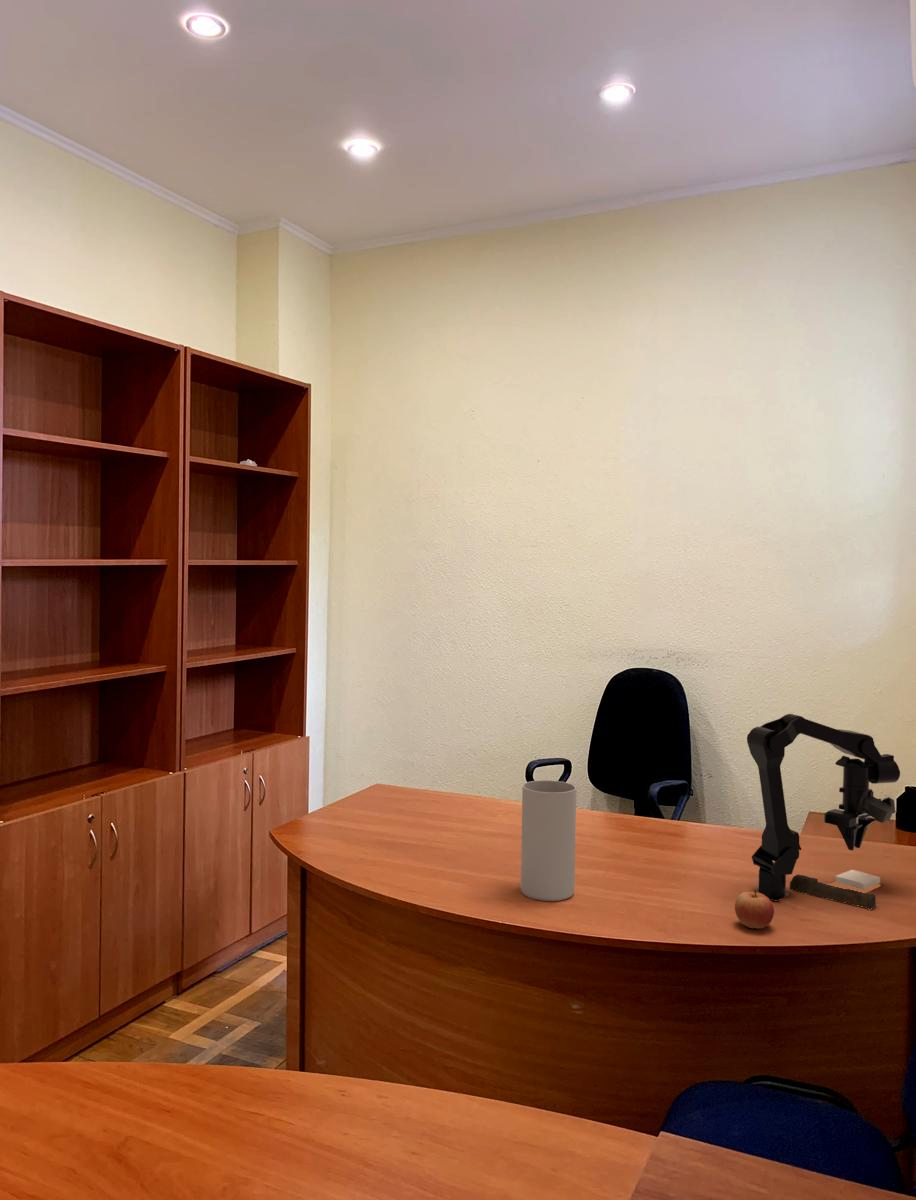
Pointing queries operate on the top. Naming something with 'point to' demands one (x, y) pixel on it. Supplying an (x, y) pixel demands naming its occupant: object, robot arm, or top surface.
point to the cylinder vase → (548, 840)
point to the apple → (754, 909)
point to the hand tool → (831, 891)
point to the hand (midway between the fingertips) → (854, 848)
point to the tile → (857, 879)
